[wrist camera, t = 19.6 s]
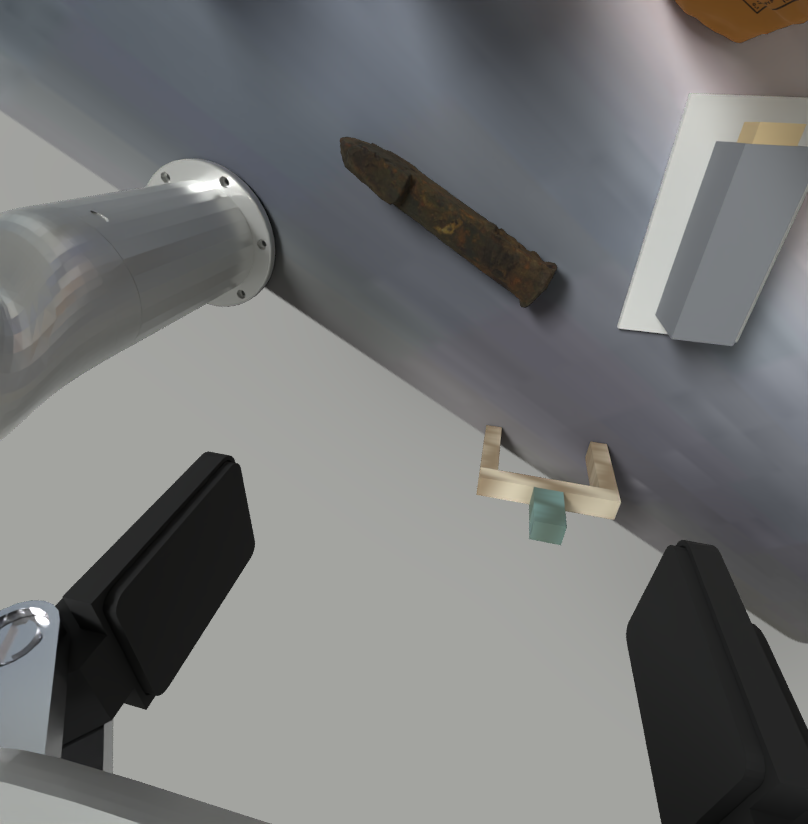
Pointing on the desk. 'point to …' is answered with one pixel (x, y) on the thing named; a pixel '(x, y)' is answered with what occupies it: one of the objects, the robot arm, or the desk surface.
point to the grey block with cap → (734, 232)
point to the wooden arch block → (550, 490)
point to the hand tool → (449, 219)
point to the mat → (696, 190)
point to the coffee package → (746, 15)
